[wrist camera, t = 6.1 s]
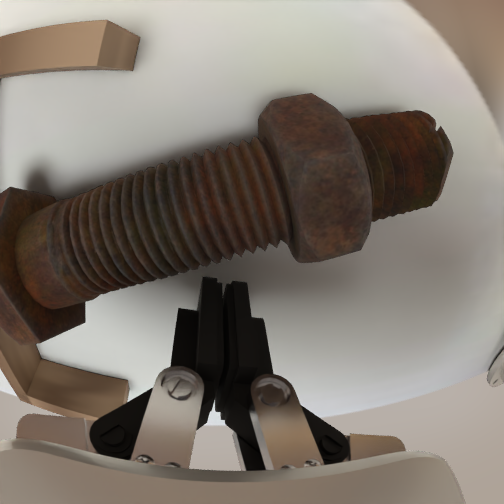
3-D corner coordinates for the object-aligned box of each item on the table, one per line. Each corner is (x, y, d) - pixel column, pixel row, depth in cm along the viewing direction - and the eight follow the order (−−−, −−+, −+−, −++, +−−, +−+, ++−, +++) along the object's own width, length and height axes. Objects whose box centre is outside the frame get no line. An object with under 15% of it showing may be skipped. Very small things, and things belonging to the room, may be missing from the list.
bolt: (379, 151, 12) (65, 239, 12) (398, 51, 7) (-2, 173, 8) (445, 264, 9) (59, 362, 9) (517, 172, 5) (-42, 322, 5)
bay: (140, 37, 7) (107, 19, 4) (129, 390, 16) (122, 430, 13) (-11, 53, 6) (-59, 58, 3) (34, 365, 15) (20, 400, 12)
